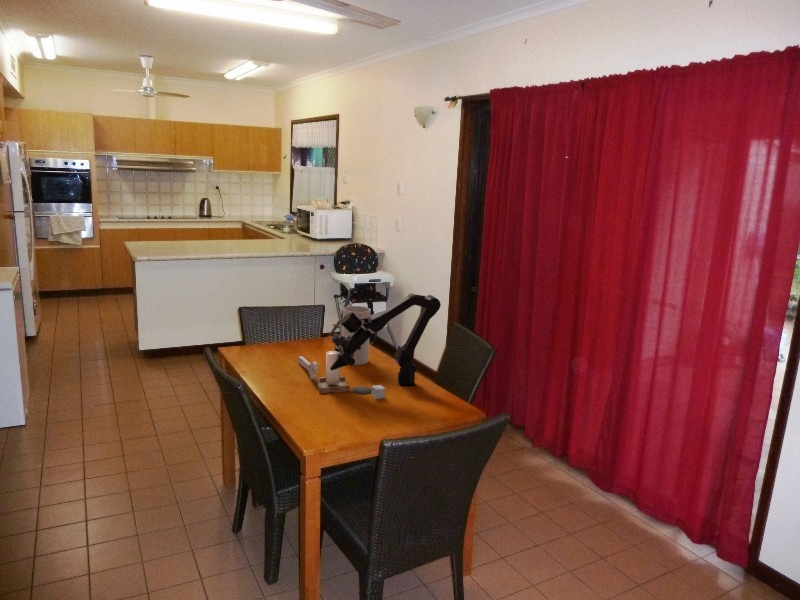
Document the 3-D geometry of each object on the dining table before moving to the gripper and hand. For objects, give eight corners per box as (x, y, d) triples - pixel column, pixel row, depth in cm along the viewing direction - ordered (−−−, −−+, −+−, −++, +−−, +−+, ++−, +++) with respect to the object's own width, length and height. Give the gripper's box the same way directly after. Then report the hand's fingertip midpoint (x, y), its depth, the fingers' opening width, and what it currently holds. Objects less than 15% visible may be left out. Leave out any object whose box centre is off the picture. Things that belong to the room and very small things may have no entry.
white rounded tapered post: (341, 381, 237) (342, 352, 234) (336, 385, 232) (336, 356, 229) (329, 379, 238) (329, 350, 236) (323, 383, 233) (323, 354, 230)
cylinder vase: (373, 363, 267) (375, 310, 262) (349, 367, 260) (351, 313, 255) (359, 355, 277) (361, 305, 272) (336, 359, 270) (338, 307, 265)
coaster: (371, 387, 237) (371, 386, 237) (372, 394, 229) (372, 393, 229) (352, 387, 236) (352, 386, 236) (352, 394, 228) (352, 393, 228)
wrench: (302, 367, 264) (318, 382, 237) (298, 368, 264) (314, 382, 236) (301, 350, 264) (318, 363, 236) (297, 350, 263) (313, 363, 235)
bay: (344, 381, 243) (344, 376, 242) (349, 391, 231) (349, 386, 231) (315, 382, 239) (316, 377, 239) (319, 392, 228) (319, 387, 228)
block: (380, 394, 230) (381, 384, 229) (384, 398, 227) (385, 388, 226) (371, 395, 228) (371, 386, 228) (375, 399, 225) (375, 389, 224)
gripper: (340, 321, 240) (313, 347, 239) (347, 333, 222) (318, 361, 222) (358, 338, 244) (331, 364, 243) (367, 352, 226) (338, 380, 225)
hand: (329, 367), depth 233 cm, fingers closed on white rounded tapered post, 6 cm apart
